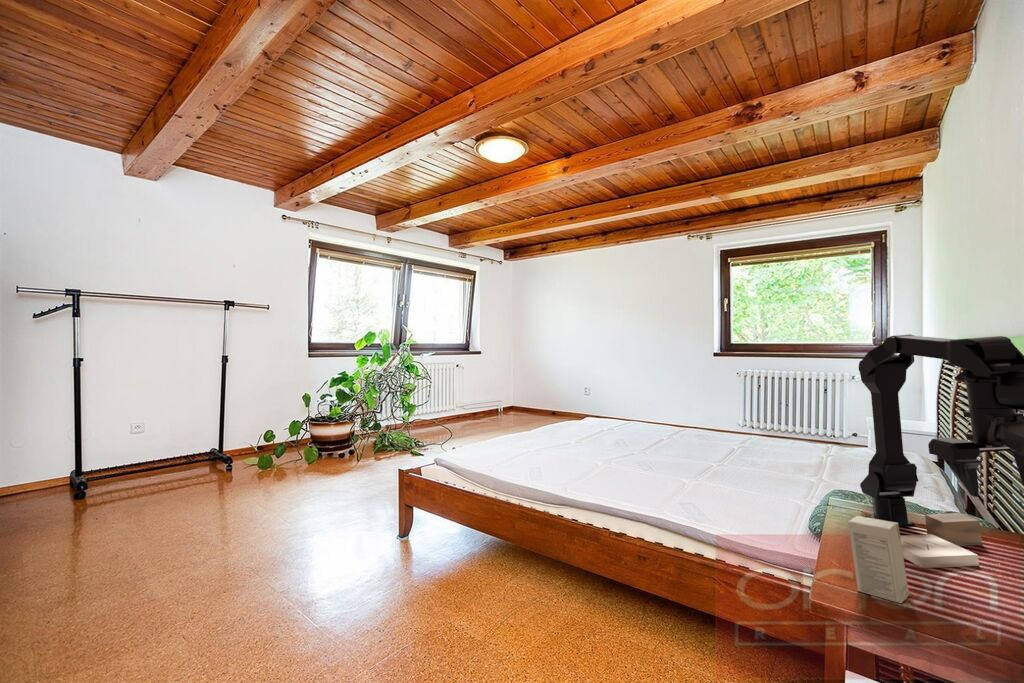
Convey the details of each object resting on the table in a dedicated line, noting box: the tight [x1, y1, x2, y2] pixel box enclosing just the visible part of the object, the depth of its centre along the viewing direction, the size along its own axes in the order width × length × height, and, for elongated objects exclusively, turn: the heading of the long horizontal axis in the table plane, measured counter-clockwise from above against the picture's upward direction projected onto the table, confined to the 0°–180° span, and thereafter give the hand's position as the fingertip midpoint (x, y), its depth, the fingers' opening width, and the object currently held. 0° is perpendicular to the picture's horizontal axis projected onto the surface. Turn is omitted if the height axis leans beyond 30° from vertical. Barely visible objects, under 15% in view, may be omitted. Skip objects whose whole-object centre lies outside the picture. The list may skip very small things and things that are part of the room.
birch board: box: [900, 533, 980, 569], centre depth 90 cm, size 10×10×2 cm
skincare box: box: [847, 515, 910, 604], centre depth 78 cm, size 6×4×12 cm
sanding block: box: [924, 512, 983, 547], centre depth 95 cm, size 4×7×5 cm, turn 86°
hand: (1002, 494), depth 80 cm, fingers open, 9 cm apart
